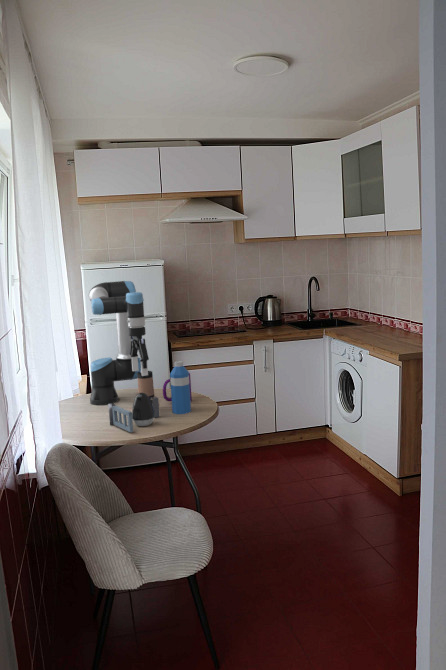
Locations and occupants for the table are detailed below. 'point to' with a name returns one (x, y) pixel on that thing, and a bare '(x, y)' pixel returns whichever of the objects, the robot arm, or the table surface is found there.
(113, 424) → the hinge post
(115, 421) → the gate
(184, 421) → the table surface
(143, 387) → the travel mug
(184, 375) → the water bottle
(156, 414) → the latch post
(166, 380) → the mug
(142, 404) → the pump dispenser
